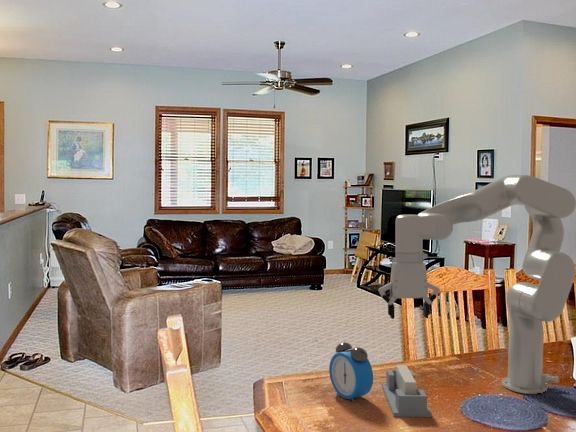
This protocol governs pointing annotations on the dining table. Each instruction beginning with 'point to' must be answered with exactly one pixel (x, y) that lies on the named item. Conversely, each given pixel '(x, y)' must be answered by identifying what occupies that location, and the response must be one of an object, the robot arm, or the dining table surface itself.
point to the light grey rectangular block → (405, 380)
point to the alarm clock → (350, 371)
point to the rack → (405, 399)
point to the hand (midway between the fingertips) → (408, 317)
